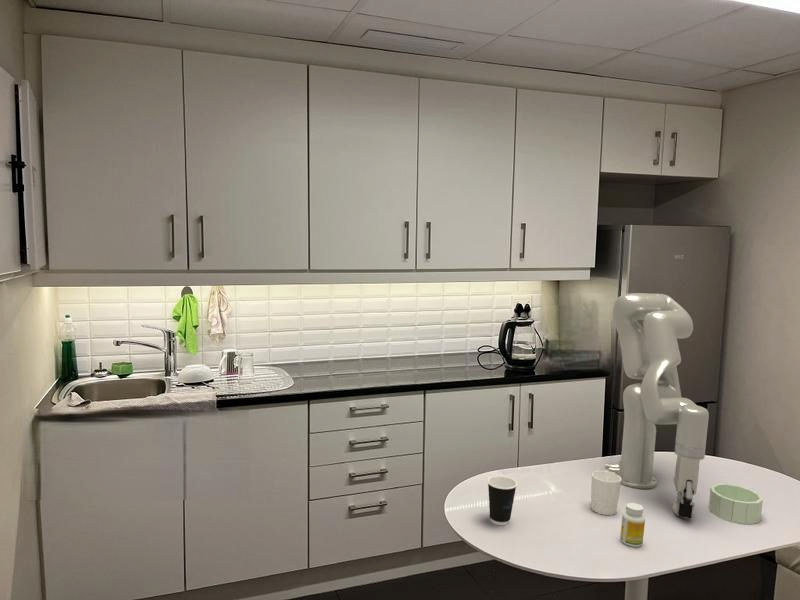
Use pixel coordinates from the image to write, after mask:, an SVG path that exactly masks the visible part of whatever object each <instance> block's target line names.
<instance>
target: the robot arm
mask: <svg viewBox="0 0 800 600" xmlns="http://www.w3.org/2000/svg"><path fill="white" fill-rule="evenodd" d="M612 318H613V322H614V326H615V329H616V331H617V334H618V337H619V341H620V342H619V343H620V350H621V358H622V364H623V371H624V372H625V375H626V376H627V377H628V378H629V379H634V380H642V381H641V382H637V383H633V384H630V385H628V386H626V387H625V389H624V390H623V393H622V402H623V411H624V412H623V415H624V418H623V420H624V421H623V433H622V443H621V444H622V445H621V456H620V461H619V463H613V464H612V463H610V462H605V466H604V468H605V469H606V470H608V472H612V473H615V474H617V475H619V476H620V477H621V485H624V486H626V485H627V487H630V488H635V489H642V490H643V489H644V490H647V489H653V488H655V487H656V486H657V484H658V480H657V479H656V478H655V477H654V476H653V470H654V469H653V468H654V459H655V449H656V446H655V445H656V438H657V437H656V436H657V426H656V425H676V433H675V434H676V435H675V443H674V452H673V453H674V455H676V463H675V468H674V469H675V470H674V476H673V477H674V478H673V483H674V489H675V491H676V492H677V495H678V494H679V493H680V492H681V502H680V503H679V513H678V515H679V516H678V515H677V516H678V517H680V518H684V519H689V520H691V519H692V516H693V512H692V506H693V505H692V502H693V500H694V499H693V496H694V495H696V494H697V490H698V484H699V483H698V482H699V471H700V463H701V462H700V461H702V460H703V461H704V459H705V456H706V449H707V448H706V447H707V446H706V445H707V435H708V429H709V428H708V426H709V419H710V418H709V417H710V416H709V415H710V414H709V411H708V409H707V408H705V407H703V406H701V405H697V404H696V403H695V402H694V401H693V400H691V399H689V398H688V397H682V391H681V386H680V381H679V373H678V367H677V366H678V365H680V364H681V362H682V357H681V352H680V349H679V348H680V347H679V343H678V339H687V338H689V337H690V336H691V335H692V334H693V331H694V323H693V319H692V318H691V315H690V314H689V313H688V312H687V310H685V309H684V308H683V307H682V306H681V305H680V304H679V303H678V302H677V301H675V300H674V299H673V298H672V297H670V296H669V295H667V294H664V293H647V292H646V293H642V292H632V293H625V294H622V295H620V296H618V297H617V298H616V299H615V301H614V303H613V306H612ZM638 321H642V325H643V326H642V325H641V324H640V323H639V322H638ZM683 490H684V492H683ZM684 494H685V495H686V497H684ZM677 495H676V496H677Z"/></svg>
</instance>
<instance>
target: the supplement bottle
mask: <svg viewBox="0 0 800 600" xmlns="http://www.w3.org/2000/svg"><path fill="white" fill-rule="evenodd" d="M643 513H644V507H643V506H642V505H641V504H639V503H636V502H628V503H627V504H626V506H625V510H624V512H623V513H622V517H621V524H620V525H621V526H620V537H619V538H620V539H619V540H620V542H621V543H622V544H624V545H625V546H628V547H632V548H640V547H641V546H643V541H644V533H645V525H646V518H645V517H646V516H645V515H644V514H643Z"/></svg>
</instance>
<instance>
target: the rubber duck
mask: <svg viewBox="0 0 800 600" xmlns="http://www.w3.org/2000/svg"><path fill="white" fill-rule="evenodd" d="M683 492H684V490H683ZM684 497H686V495H685V494H684ZM680 502H681V492H680V493H679V494H678V495H676V497H675V501H673V504H672V509H671V511H672V512H673V513H674V514H675V515H676V516H678V517H679V515H678V513H679V503H680ZM692 505H693V506H692V513H693V512H694V508H695V506H696V503H695V502H694V501H692Z"/></svg>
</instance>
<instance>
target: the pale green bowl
mask: <svg viewBox="0 0 800 600" xmlns="http://www.w3.org/2000/svg"><path fill="white" fill-rule="evenodd" d="M709 490H710V491H709V501H708V508H709V512H710V513H712V514H713V515H715V516H716V517H718V518H720V519H723V520H726V521H728V522H732V523H736V524H741V525H755V524H758V523H759V522H760V521H761V518H762V510H763V501H764V499H763V498H762V496H761V494H759V493H758V492H756V491H754V490H752V489H751V488H747V487H744V486H740V485H738V484H733V483H731V484H730V483H715V484H713V485H711V486H710V489H709Z"/></svg>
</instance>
